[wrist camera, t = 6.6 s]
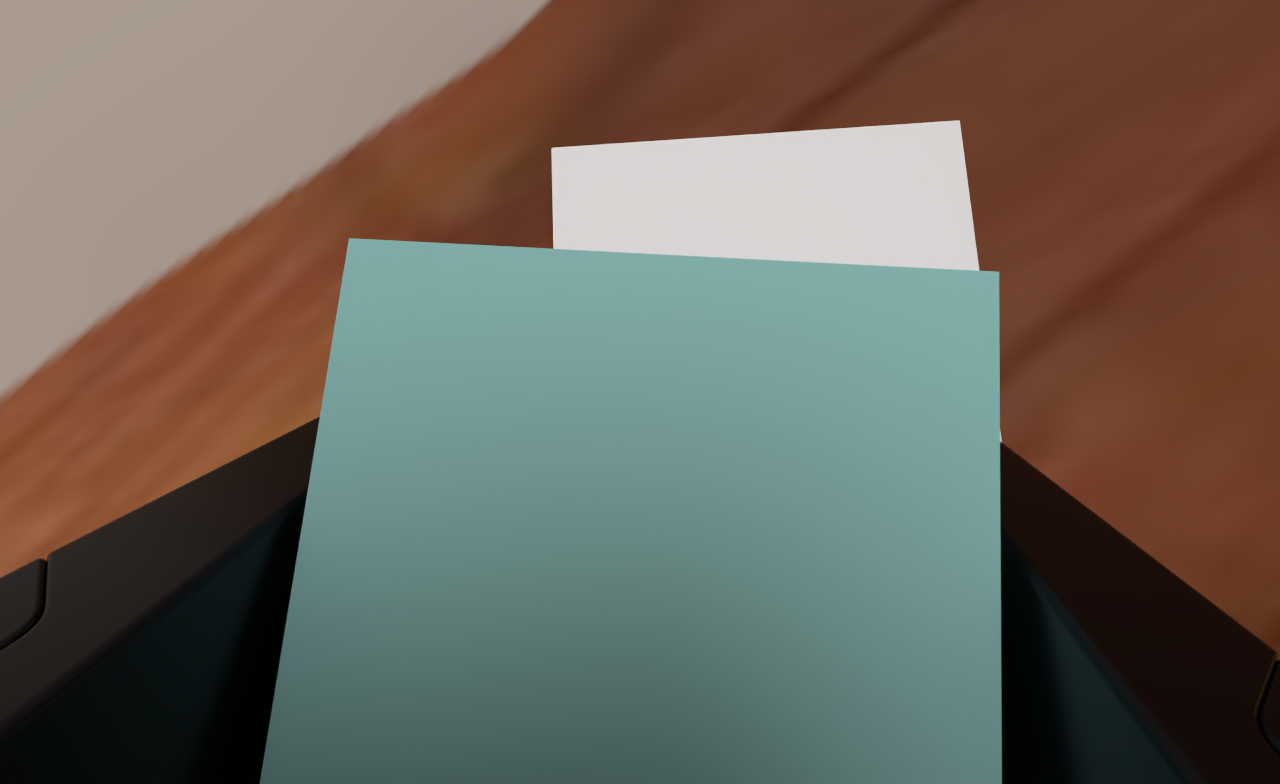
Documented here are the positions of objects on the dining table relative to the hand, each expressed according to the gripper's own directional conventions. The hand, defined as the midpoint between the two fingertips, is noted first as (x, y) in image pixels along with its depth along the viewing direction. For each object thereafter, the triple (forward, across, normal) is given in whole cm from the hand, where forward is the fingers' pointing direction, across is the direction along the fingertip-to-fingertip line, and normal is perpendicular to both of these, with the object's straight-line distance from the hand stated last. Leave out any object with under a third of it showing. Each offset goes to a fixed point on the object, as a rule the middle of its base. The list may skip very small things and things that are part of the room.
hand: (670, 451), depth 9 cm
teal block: (+5, 0, +7) cm, 9 cm away
